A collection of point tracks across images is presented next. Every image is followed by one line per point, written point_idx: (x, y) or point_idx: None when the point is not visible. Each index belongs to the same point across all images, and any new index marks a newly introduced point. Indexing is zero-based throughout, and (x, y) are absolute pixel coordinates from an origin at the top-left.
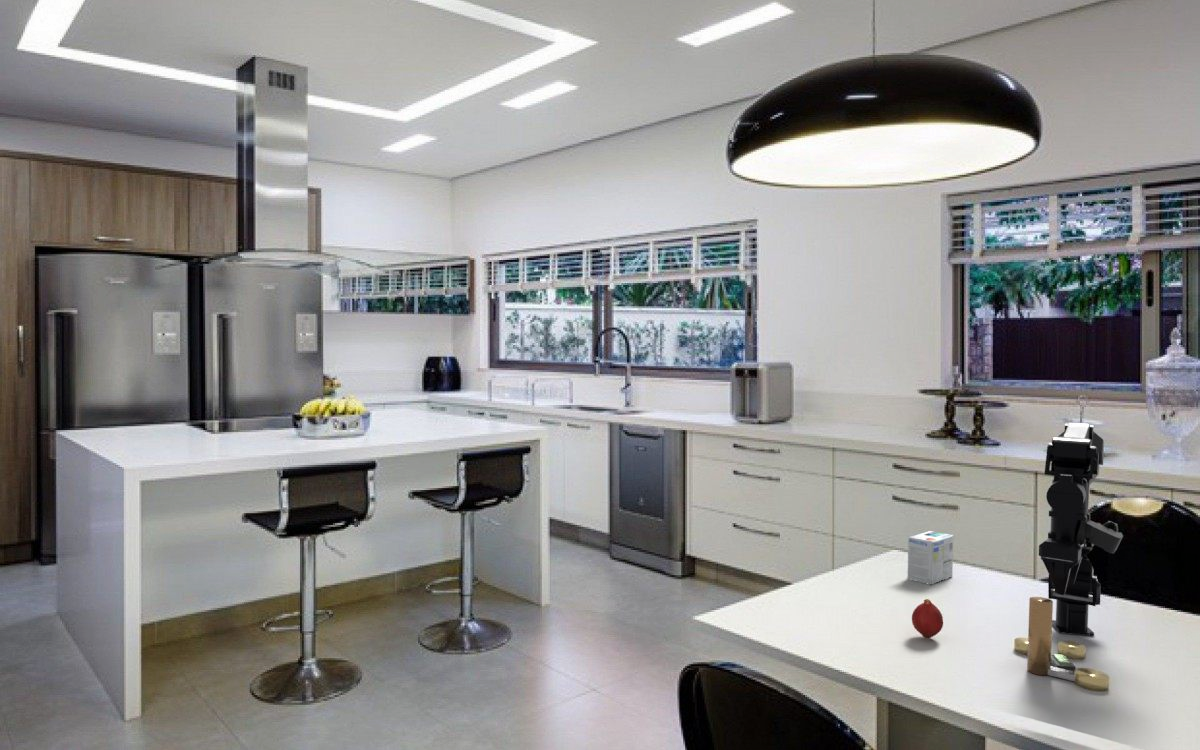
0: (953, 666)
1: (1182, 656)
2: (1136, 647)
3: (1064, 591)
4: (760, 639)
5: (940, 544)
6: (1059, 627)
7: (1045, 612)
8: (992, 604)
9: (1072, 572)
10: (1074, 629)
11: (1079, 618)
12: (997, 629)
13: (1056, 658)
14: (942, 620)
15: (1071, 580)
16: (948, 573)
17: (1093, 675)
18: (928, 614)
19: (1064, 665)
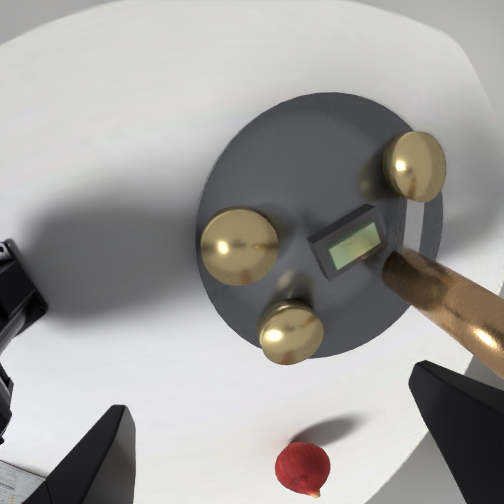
0: (393, 372)
1: (12, 51)
2: (7, 139)
3: (441, 367)
4: (388, 476)
5: None
6: (29, 316)
7: None
8: (26, 422)
9: (113, 475)
10: (27, 284)
11: (6, 288)
12: (142, 404)
13: (358, 255)
14: (305, 458)
15: (127, 431)
16: (4, 468)
17: (427, 163)
18: (328, 471)
19: (380, 230)
